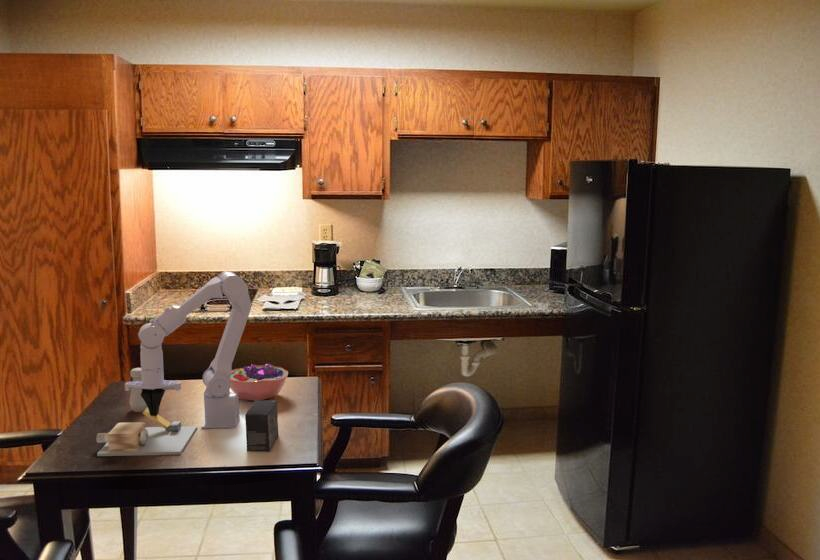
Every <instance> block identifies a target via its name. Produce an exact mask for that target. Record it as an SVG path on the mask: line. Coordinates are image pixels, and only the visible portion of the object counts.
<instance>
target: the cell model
mask: <svg viewBox="0 0 820 560" xmlns="http://www.w3.org/2000/svg"><path fill="white" fill-rule="evenodd" d="M288 375H289V371H288V370H286V369H284V368H283V367H281V366H274V365H272V364H271V363H266V364H265V365H263V364H262V365H255V364H251V366H247V365H244V367H240V368H235V369H232V373H231V377H230V384H231V386H230V391H232V393H237V394H238V398H239V399H240V400H245V401H246V400H247V401H254V402H255V401H265V400H268V399H272V398H274V397H275V396H277V395H278V394H279V393H280V392H281V390H282V388H283V387H284V385H285V384H286V382H287V379H288Z"/></svg>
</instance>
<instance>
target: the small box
mask: <svg viewBox="0 0 820 560" xmlns="http://www.w3.org/2000/svg"><path fill="white" fill-rule="evenodd" d="M244 417H245V436H246V451H247V452H268V453H269V452H271V450H272V448H273V446H274V444H275V443H276V441H277V439H278V437H279V435H280V434H279V424H278V422H279V421H278V417H279V416H278V401H277V400H275V399H274V400H268V399H264V400H261V401H254V402H253V403H252V405H251V406H250V407H249V409H248V410H247V412H245V414H244Z"/></svg>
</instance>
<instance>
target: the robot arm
mask: <svg viewBox="0 0 820 560" xmlns="http://www.w3.org/2000/svg"><path fill="white" fill-rule="evenodd" d="M223 294H224V295H225V297H226V298H227V300H228V301H229V303H230V305H231V310H230V314H229V316H228V318H227V322H226V324H225V328H224V330H223V333H222V335H221V339H220V342H219V344H218V347H217V351H216V353H215V357H214V358H213V360H212V361H211V362H210V365H209V367H208V368H207V369H206V370H205V371H204V372H203V374H202V383H203V385H205V387H206V388H205V390H204V392H203V403H204V404H203V405H204V408H203V409H204V421H203V423H202V424H201V426H200V427H201V429H217V428H218V429H220V428H221V429H222V428H223V429H225V428H226V429H228V428H231V429H232V428H235V427H236V426H237V424H238V422H239V419H240V417H241V416H240V403H239V402H240V401H239V399H240V398H238V394H237V393H234V392H231V388H230V386H231V384H230V377H231V373H232V370H233V369H232V367H233V366H232V365H233V361H234V359H235V355H236V353H237V350H238V347H239V344H240V342H241V338H242V336H243V333H244V330H245V327H246V324H247V321H248V319H249V315H250V313H251V311H252V310H251V309H252V302H251V298H250V293H249V286H248V285H247V283H246V282H245V281H244V280H243V278H242V277H240V276H239V275H237V274H236V272H233V271H230V270H225V271H222V272H221V273H219V274H218V276H214V277H213V278H211V279H210V280H209V281H208V282H206V284H204V285H203V286H201V287H200V288H199V289H198V290H197V291H195V293H193V294H192V295H191V296H189V297H188V298H187V299H186V300H185V301H183V302H182V303H181V304H180V305H171V306H170V307H169V306H166V307H164V308H163V310H164V311H163V312H161V313H160V314H159V315H158V316H156V317H155V318H151V319H150V320H149V323H148V322H147V323H145V324H143V325H142V326H140V328H139V330H138V333H137V336H138V339H139V341H140V346H139V348H140V352H139V353H140V368H141V377H142V381H135V382H132V381H126V383H124V390H125V392H126V391H127V392H128V391H131V390H142V393H141V397H142V398H143V399H144V401H145V403H146V405H147V407H148V409H149V412H150V415H152V416H153V415H154V416H157V415H159V413H160V405H161V402H162V399H163V397H164V394H165V392H166V391H167V390H168V391H169V390H170V391H174V390H175V391H178V392H179V391H180V390H181V389H182V381H174V380H166V379H165V378H164V377H165V376H164V375H165V373H164V354H163V353H164V352H163V349H162V343H163V342H164V338H165V337H168V336H169V335H170V334H172V333H174V332H175V331H176V330H177V329H178V328H179V327H181V326H182V325H183V324H185V323H186V322H187V317H188V315H190V313H193V311H195V310H196V309H198V308H200V306H202V305H204V304H205V303H207V302H208V301H209V300H211V299H223V298H224V296H223Z"/></svg>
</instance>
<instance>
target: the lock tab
mask: <svg viewBox="0 0 820 560" xmlns="http://www.w3.org/2000/svg"><path fill="white" fill-rule="evenodd" d="M141 413H142V414H143V415H144V416H146V418H148V419H150V420H151V421H152V422H154V423H156V424H157V425H158V426H159V427H163V428H165V429H166V431H169V429H170V425H171V424H172V422H170V421H169V420H167V419H166V418H164V417H163V416H161V415H159V414H158V415H157V416H154V415H153V416H152V415H150V412H149V409H148V407H147V408H146V409H145V411H143V412H141Z"/></svg>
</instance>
